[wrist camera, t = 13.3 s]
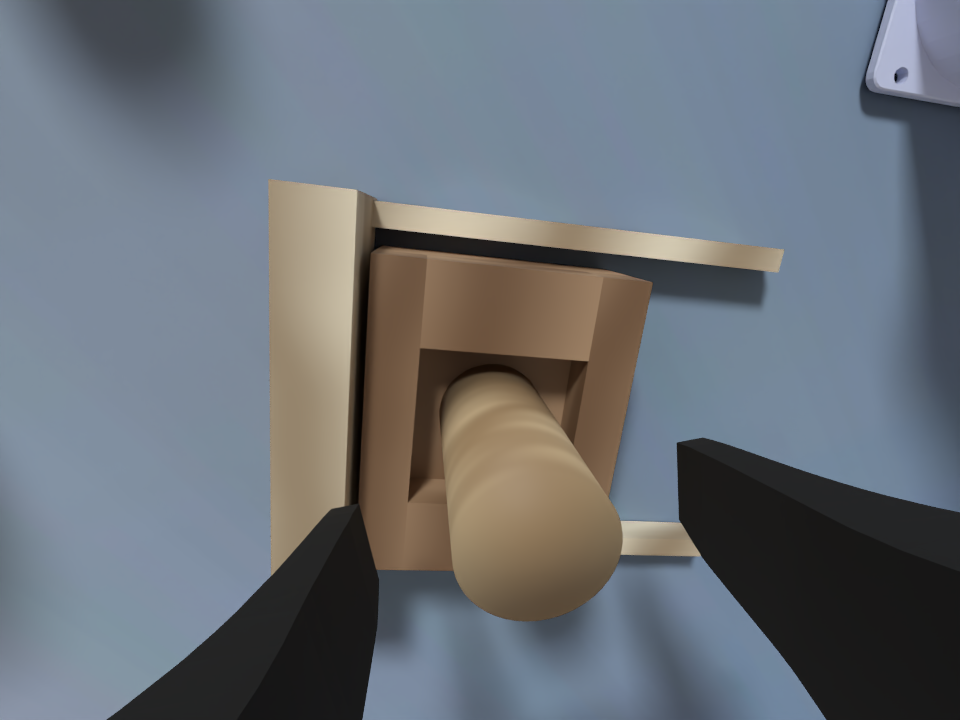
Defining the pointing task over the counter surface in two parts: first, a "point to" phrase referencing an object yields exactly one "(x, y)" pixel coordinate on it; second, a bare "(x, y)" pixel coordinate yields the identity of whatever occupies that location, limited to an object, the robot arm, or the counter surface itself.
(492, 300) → the walnut block
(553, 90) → the counter surface
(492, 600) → the oak dowel
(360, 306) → the birch rail and backstop
